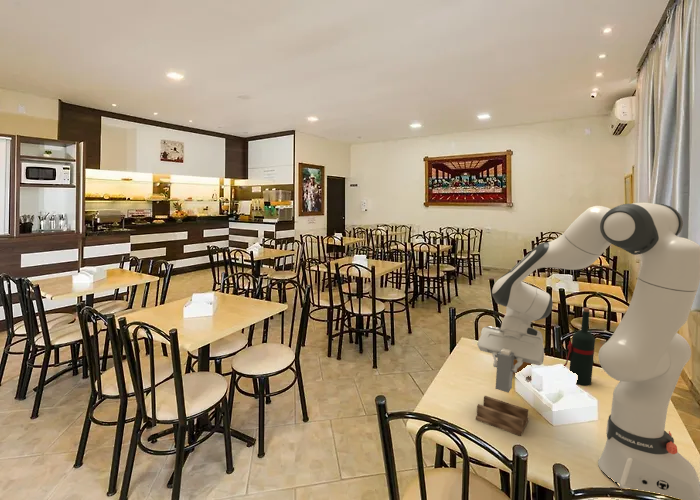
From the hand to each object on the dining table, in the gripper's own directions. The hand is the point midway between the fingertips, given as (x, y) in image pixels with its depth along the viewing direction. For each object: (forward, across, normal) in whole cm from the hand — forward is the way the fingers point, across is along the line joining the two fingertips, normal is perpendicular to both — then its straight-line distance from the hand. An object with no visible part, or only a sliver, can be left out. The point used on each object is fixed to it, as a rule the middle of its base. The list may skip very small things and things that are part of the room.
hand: (504, 369), depth 119 cm
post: (+4, 0, +5) cm, 7 cm away
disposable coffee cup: (-14, -3, +40) cm, 43 cm away
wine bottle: (-20, +16, +46) cm, 53 cm away
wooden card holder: (+12, 0, +13) cm, 18 cm away
